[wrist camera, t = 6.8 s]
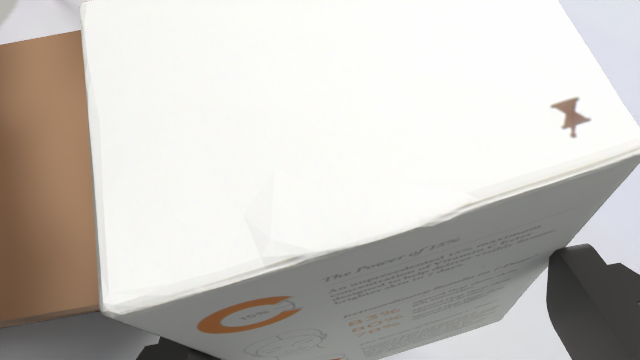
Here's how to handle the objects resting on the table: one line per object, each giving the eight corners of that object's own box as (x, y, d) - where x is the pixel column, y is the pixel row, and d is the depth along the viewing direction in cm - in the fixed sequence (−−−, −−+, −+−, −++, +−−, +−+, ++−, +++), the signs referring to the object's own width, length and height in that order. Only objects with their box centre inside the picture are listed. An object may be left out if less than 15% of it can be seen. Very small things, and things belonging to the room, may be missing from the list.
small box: (440, 168, 22) (484, -137, 10) (505, 322, 19) (675, 151, 7) (249, 228, 22) (67, -5, 10) (285, 389, 19) (93, 331, 7)
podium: (166, 65, 30) (131, 20, 26) (192, 294, 27) (157, 294, 23) (-54, 105, 31) (-131, 69, 26) (-52, 337, 28) (-139, 345, 23)
